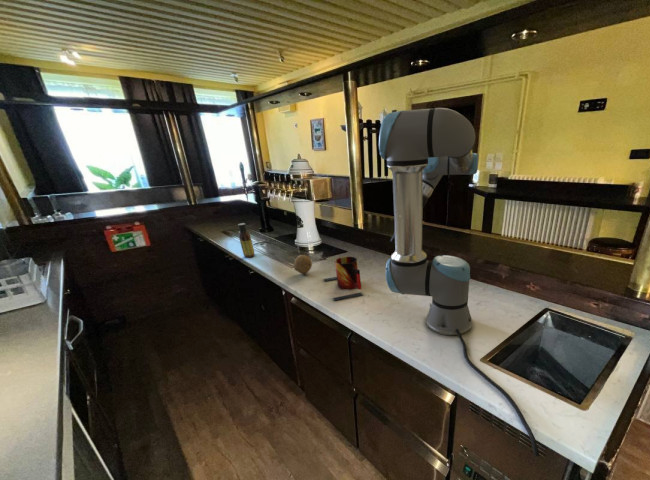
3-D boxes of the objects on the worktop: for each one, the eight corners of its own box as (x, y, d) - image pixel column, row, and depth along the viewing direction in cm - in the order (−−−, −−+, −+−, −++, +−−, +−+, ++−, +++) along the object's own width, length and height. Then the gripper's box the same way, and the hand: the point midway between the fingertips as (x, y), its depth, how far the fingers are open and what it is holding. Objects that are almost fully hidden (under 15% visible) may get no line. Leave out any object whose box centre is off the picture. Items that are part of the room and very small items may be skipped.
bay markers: (362, 295, 127) (362, 294, 127) (334, 301, 123) (334, 300, 123) (348, 275, 148) (348, 274, 148) (324, 279, 144) (324, 279, 144)
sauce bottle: (246, 255, 185) (238, 222, 177) (256, 254, 186) (248, 222, 177) (242, 258, 179) (234, 225, 171) (253, 257, 180) (245, 224, 172)
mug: (360, 292, 130) (358, 266, 125) (333, 287, 135) (330, 262, 130) (370, 283, 138) (369, 258, 133) (345, 279, 143) (342, 255, 138)
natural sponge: (314, 275, 150) (311, 256, 145) (296, 278, 147) (292, 259, 143) (312, 269, 157) (309, 251, 153) (294, 272, 155) (291, 254, 150)
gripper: (434, 201, 126) (405, 250, 129) (419, 198, 137) (393, 243, 140) (421, 191, 122) (392, 241, 126) (407, 189, 134) (380, 235, 137)
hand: (392, 242), depth 133 cm, fingers closed
